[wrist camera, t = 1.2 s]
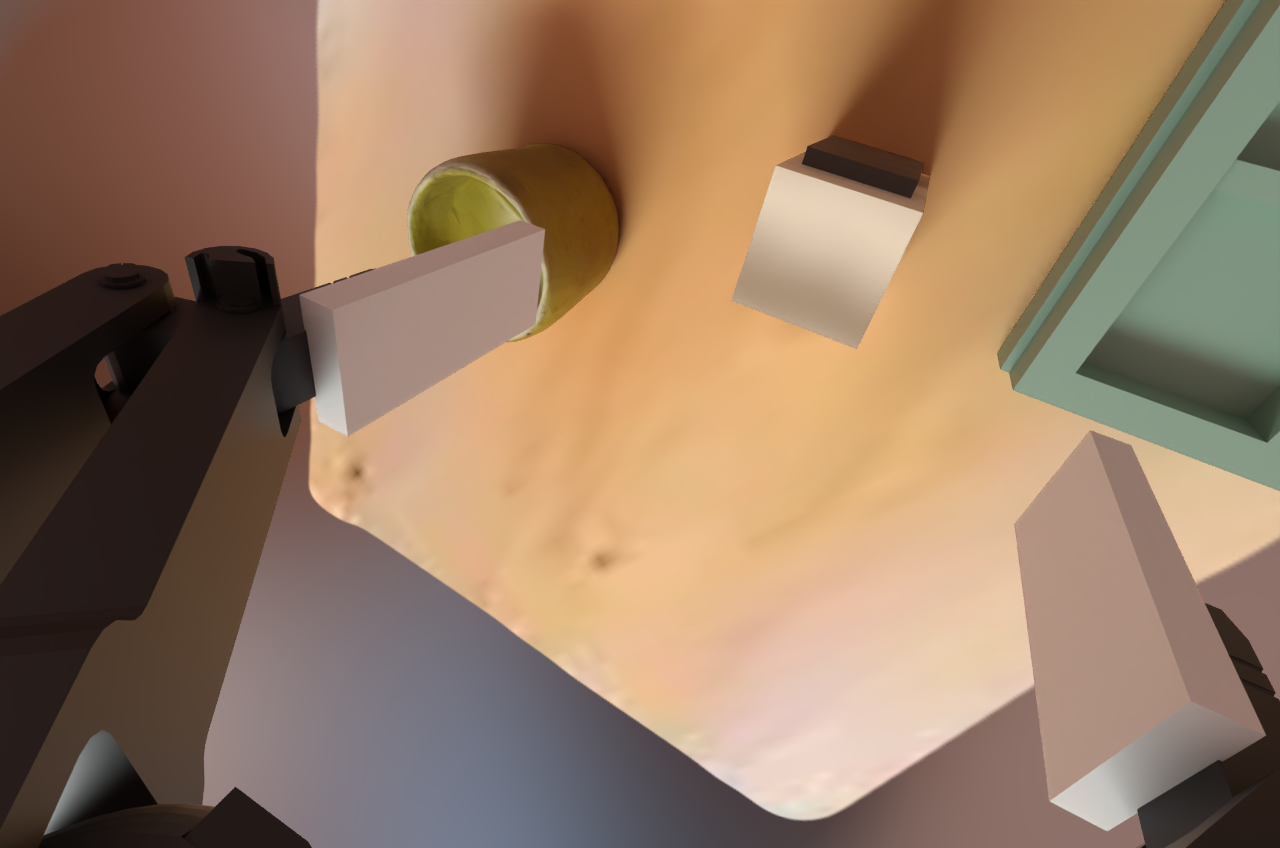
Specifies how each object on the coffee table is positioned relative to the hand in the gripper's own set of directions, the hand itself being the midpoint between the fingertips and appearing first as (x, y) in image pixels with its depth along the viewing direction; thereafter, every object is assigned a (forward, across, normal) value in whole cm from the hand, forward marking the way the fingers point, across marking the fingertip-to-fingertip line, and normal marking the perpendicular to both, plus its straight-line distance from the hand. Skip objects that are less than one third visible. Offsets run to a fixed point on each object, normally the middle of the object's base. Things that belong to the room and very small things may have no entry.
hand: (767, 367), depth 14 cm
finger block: (+18, 0, 0) cm, 19 cm away
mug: (+18, -18, -7) cm, 26 cm away
